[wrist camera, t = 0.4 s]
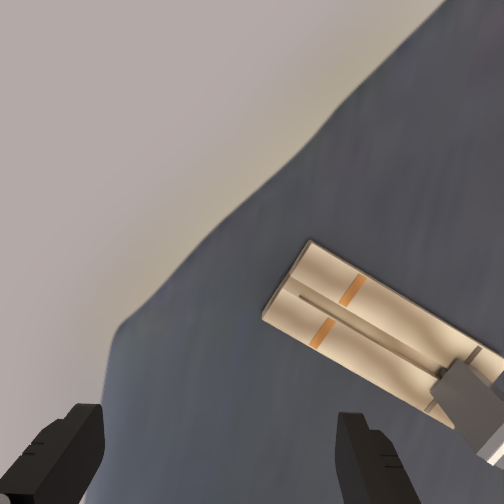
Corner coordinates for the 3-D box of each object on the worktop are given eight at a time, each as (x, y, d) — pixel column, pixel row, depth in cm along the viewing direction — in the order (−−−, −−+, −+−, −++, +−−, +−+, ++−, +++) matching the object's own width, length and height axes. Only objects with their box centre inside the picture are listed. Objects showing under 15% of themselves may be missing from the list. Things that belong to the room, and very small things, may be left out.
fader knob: (444, 396, 43) (503, 471, 32) (423, 384, 42) (476, 455, 32) (472, 363, 42) (542, 429, 31) (451, 350, 41) (515, 412, 31)
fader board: (444, 417, 44) (453, 429, 42) (261, 312, 42) (261, 319, 40) (498, 353, 42) (510, 363, 40) (309, 239, 40) (312, 243, 38)
